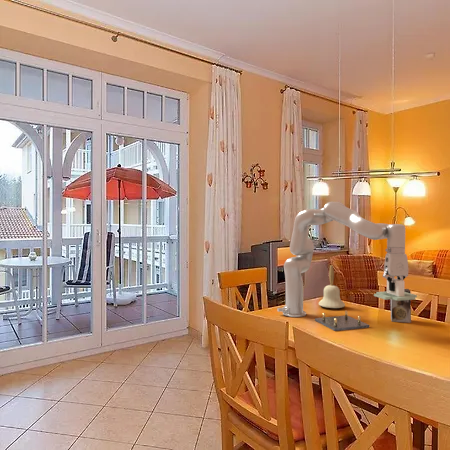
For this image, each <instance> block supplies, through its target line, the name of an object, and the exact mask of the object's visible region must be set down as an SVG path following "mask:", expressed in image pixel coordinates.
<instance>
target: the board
mask: <svg viewBox="0 0 450 450" xmlns="http://www.w3.org/2000/svg"><path fill="white" fill-rule="evenodd" d="M394 283H395V291H390V290H389V282H388V280H387V279H386V291H385V290H384V291H376V293H374V294H373V296H374V297H375V298H376V297H377V298H380V299H382V300H386V301H387V300H391V299H393V300H396V301H400V300H411V301H412V300H416V298H418V295H417V294H413V293H412V292H411V293H407V292H404V289H405V280H399V279H397V278H396V277H394Z"/></svg>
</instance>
